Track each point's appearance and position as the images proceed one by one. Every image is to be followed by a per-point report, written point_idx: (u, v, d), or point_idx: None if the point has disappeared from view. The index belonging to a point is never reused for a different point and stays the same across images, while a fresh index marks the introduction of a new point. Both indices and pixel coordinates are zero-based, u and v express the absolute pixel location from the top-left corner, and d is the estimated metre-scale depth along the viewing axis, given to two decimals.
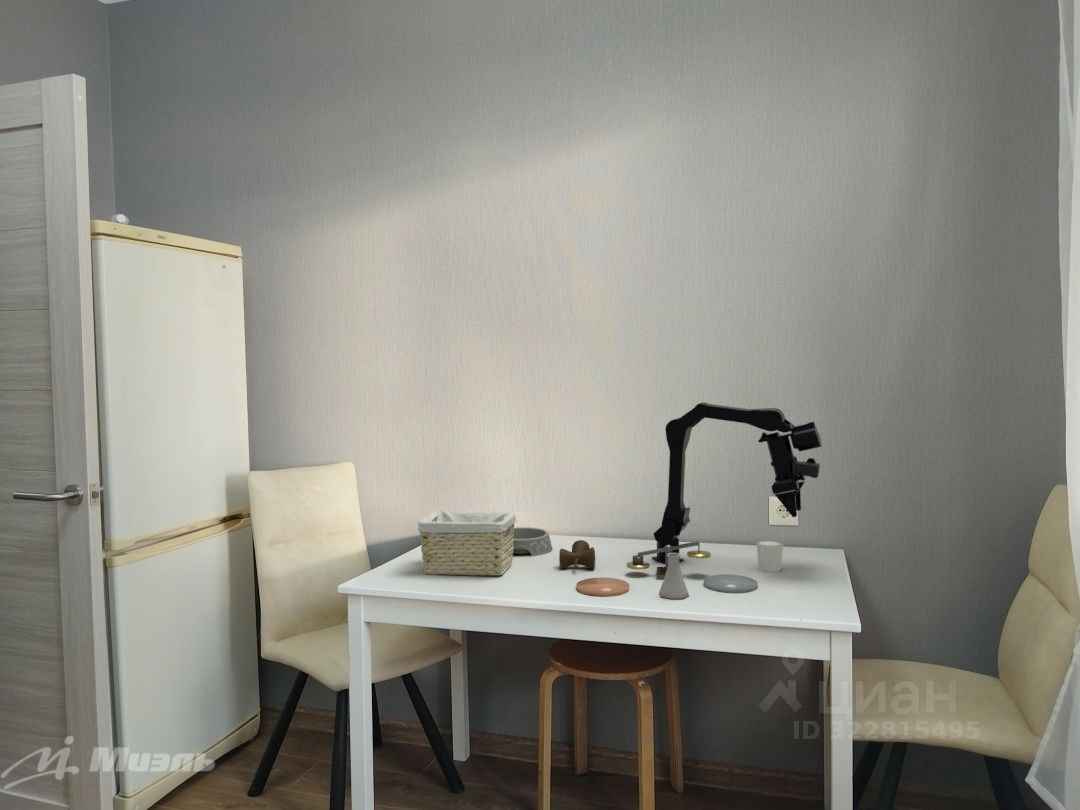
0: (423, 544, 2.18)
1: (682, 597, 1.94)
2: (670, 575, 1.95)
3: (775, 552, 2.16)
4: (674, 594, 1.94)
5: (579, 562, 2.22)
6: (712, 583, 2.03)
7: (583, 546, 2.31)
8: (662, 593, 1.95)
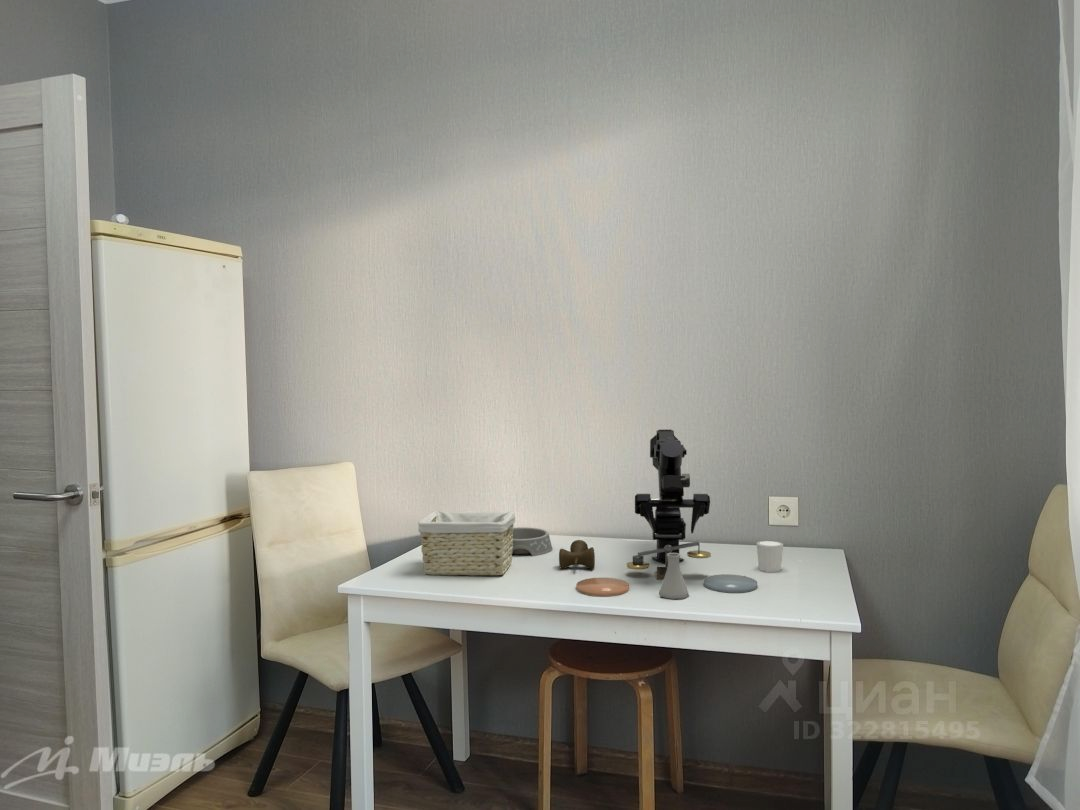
0: (423, 544, 2.18)
1: (682, 597, 1.94)
2: (670, 575, 1.95)
3: (775, 552, 2.16)
4: (674, 594, 1.94)
5: (579, 562, 2.22)
6: (712, 583, 2.03)
7: (582, 546, 2.31)
8: (662, 593, 1.95)
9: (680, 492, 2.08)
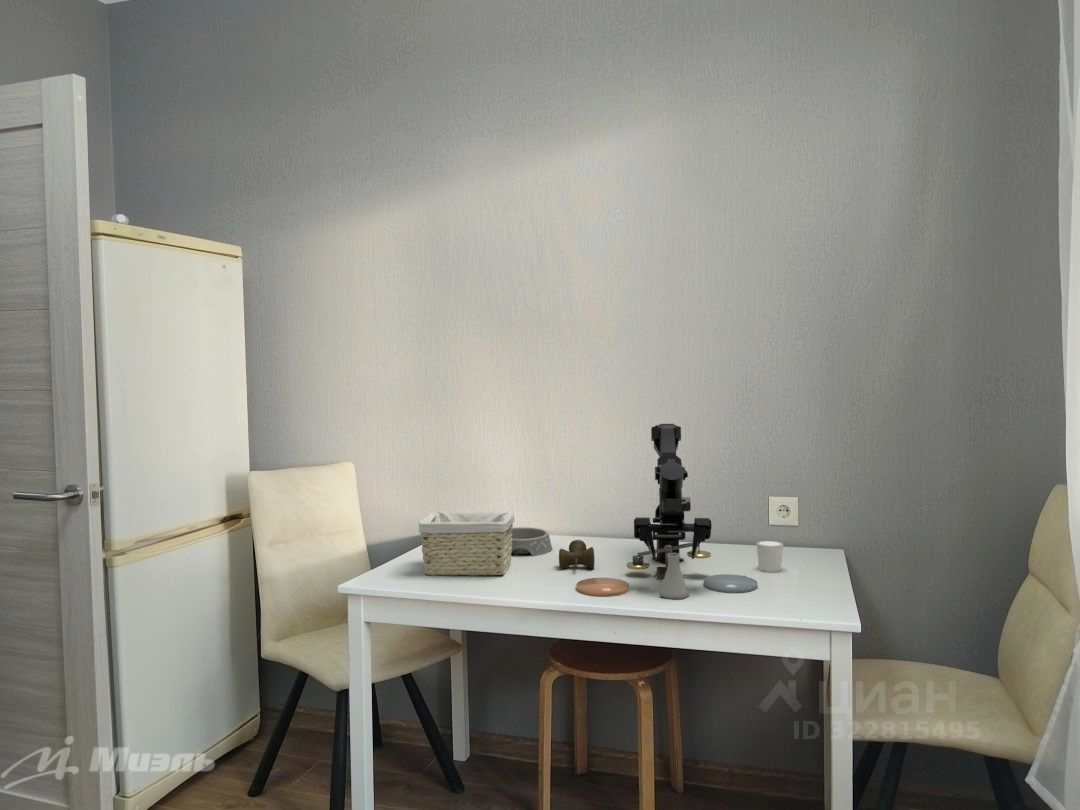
0: (424, 545, 2.17)
1: (682, 597, 1.94)
2: (670, 575, 1.95)
3: (775, 552, 2.16)
4: (673, 594, 1.94)
5: (579, 562, 2.22)
6: (712, 583, 2.03)
7: (581, 546, 2.32)
8: (662, 593, 1.95)
9: (680, 516, 2.02)
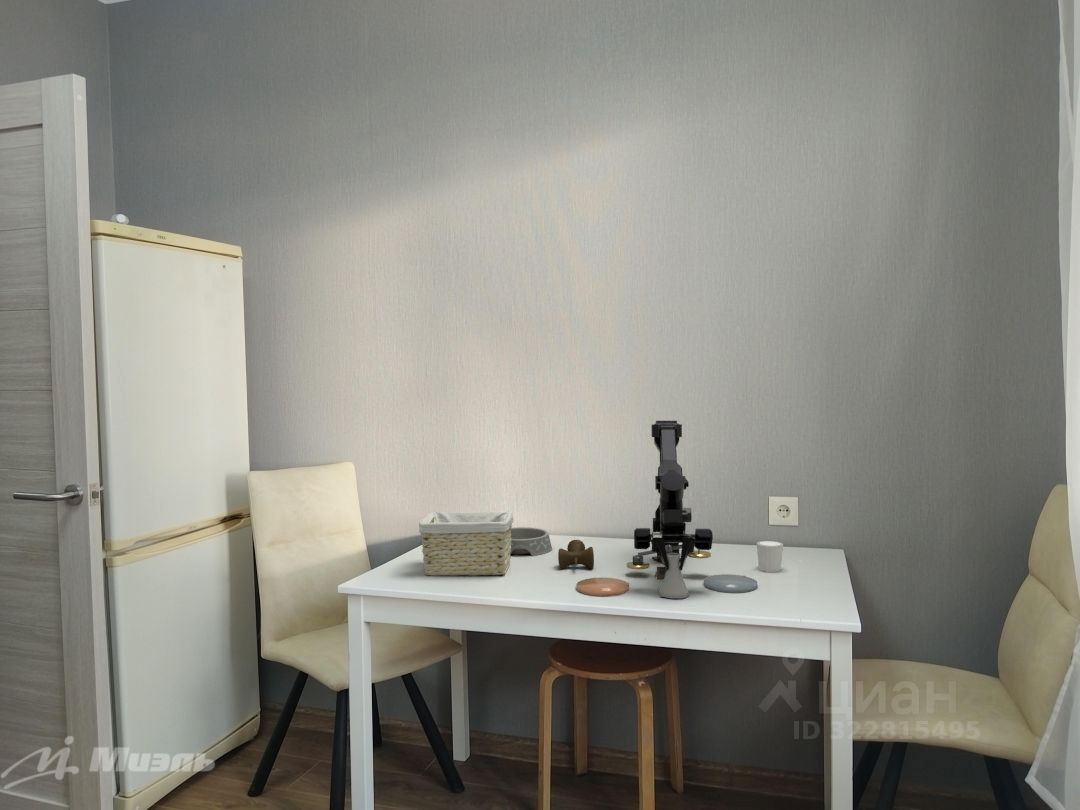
0: (424, 545, 2.17)
1: (682, 597, 1.94)
2: (670, 574, 1.95)
3: (775, 552, 2.16)
4: (673, 594, 1.94)
5: (578, 561, 2.22)
6: (712, 583, 2.03)
7: (579, 545, 2.32)
8: (662, 593, 1.95)
9: (681, 527, 1.99)
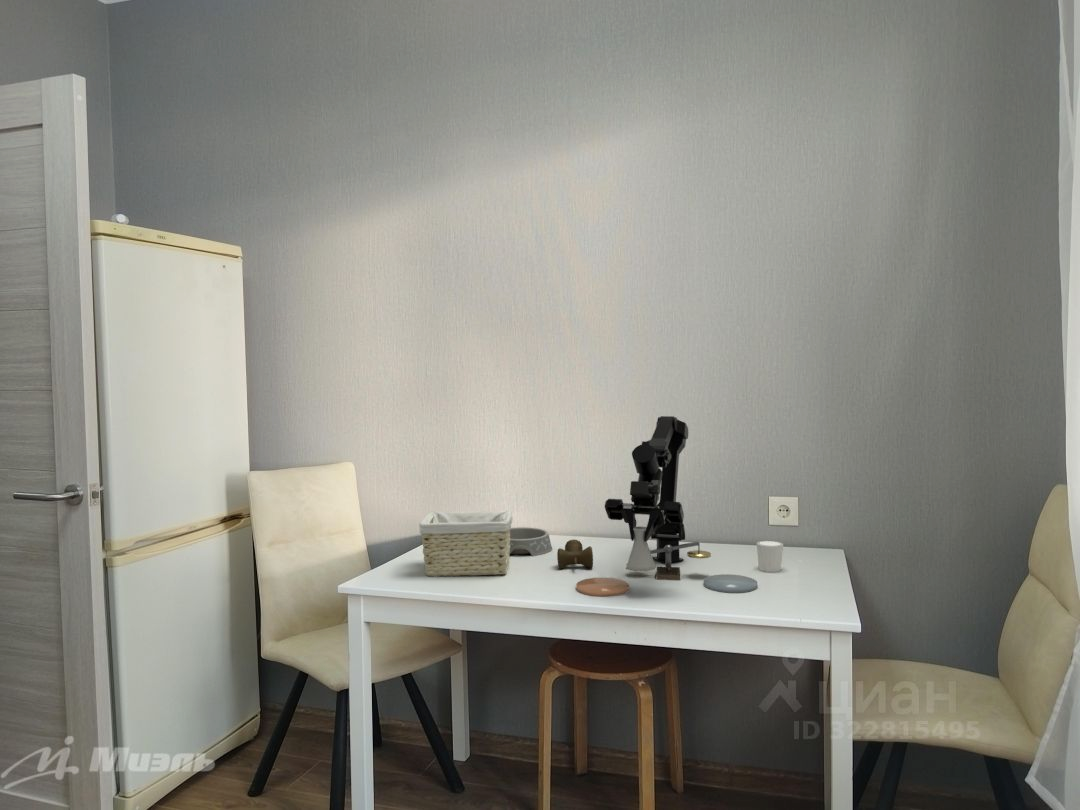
0: (425, 546, 2.16)
1: (645, 570, 1.95)
2: (635, 548, 1.97)
3: (775, 552, 2.16)
4: (637, 567, 1.96)
5: (577, 561, 2.23)
6: (712, 583, 2.03)
7: (577, 545, 2.32)
8: (627, 565, 1.97)
9: (651, 499, 2.00)
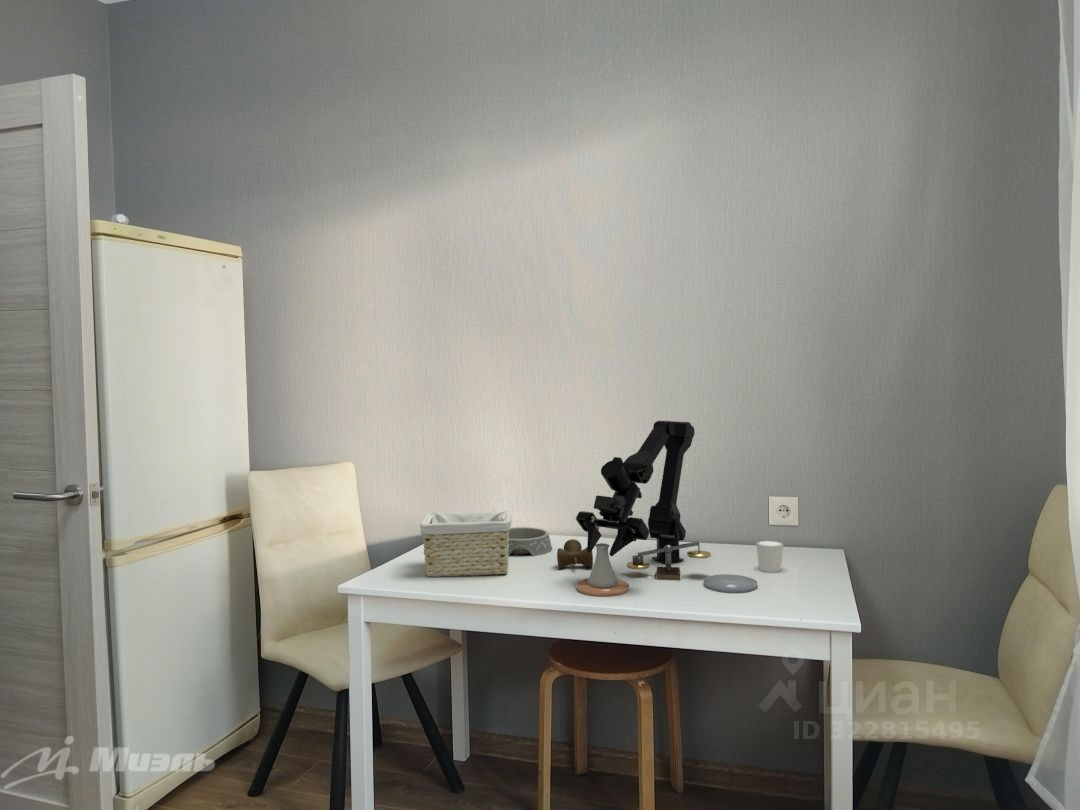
0: (426, 546, 2.16)
1: (601, 586, 2.00)
2: (595, 564, 2.02)
3: (775, 552, 2.16)
4: (595, 582, 2.01)
5: (577, 561, 2.23)
6: (712, 583, 2.03)
7: (577, 545, 2.32)
8: (588, 580, 2.03)
9: (616, 514, 2.04)
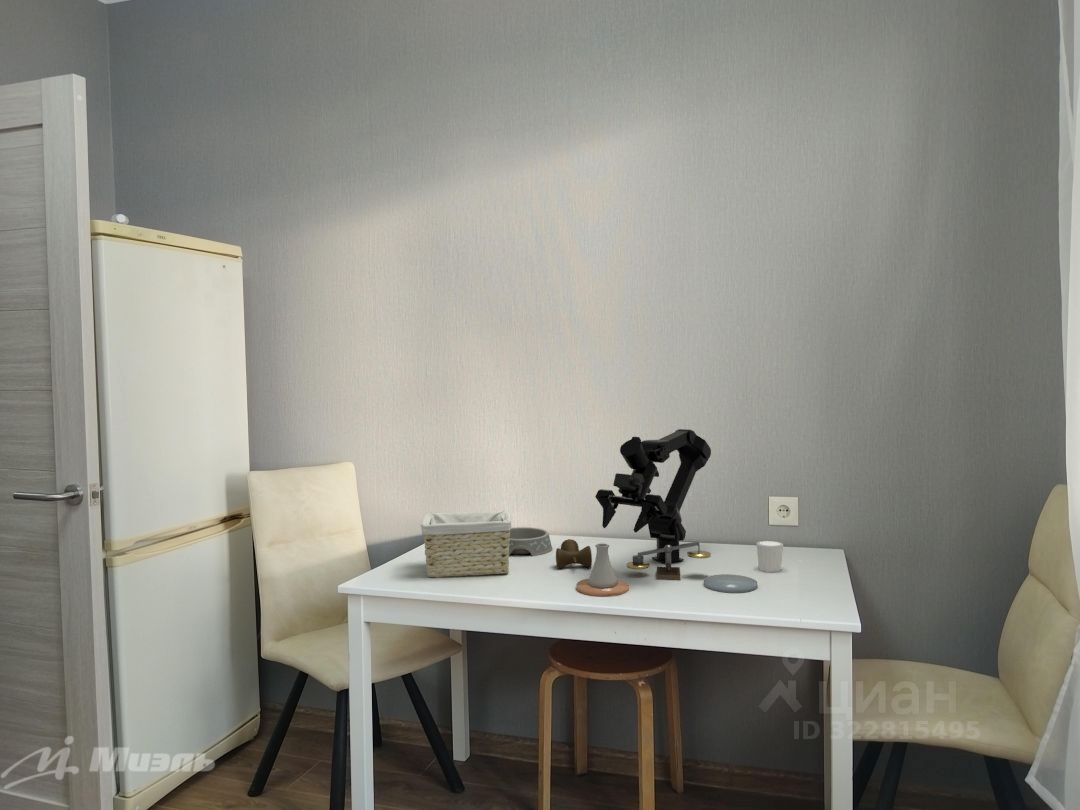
0: (427, 547, 2.15)
1: (601, 586, 2.00)
2: (595, 564, 2.02)
3: (775, 552, 2.16)
4: (595, 582, 2.01)
5: (576, 561, 2.23)
6: (712, 583, 2.03)
7: (574, 545, 2.33)
8: (588, 580, 2.03)
9: (635, 491, 2.11)
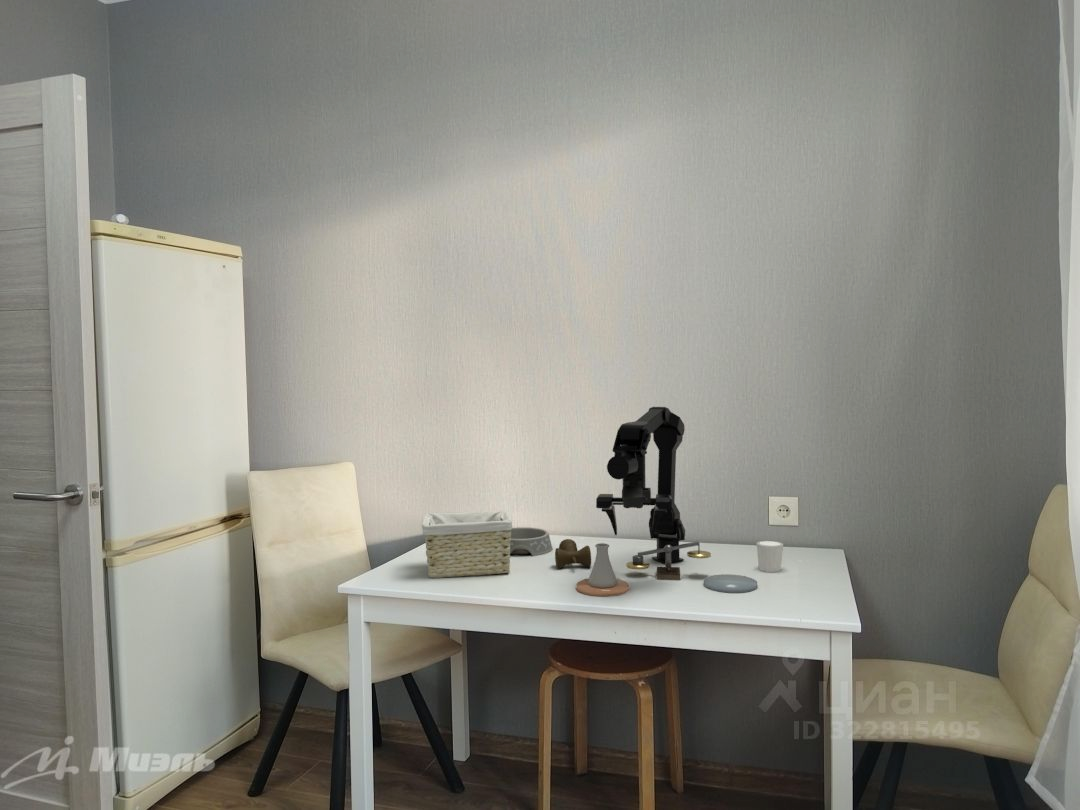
0: (428, 548, 2.14)
1: (601, 586, 2.00)
2: (595, 564, 2.02)
3: (775, 552, 2.16)
4: (595, 582, 2.01)
5: (575, 561, 2.23)
6: (712, 583, 2.03)
7: (573, 545, 2.33)
8: (588, 580, 2.03)
9: None
